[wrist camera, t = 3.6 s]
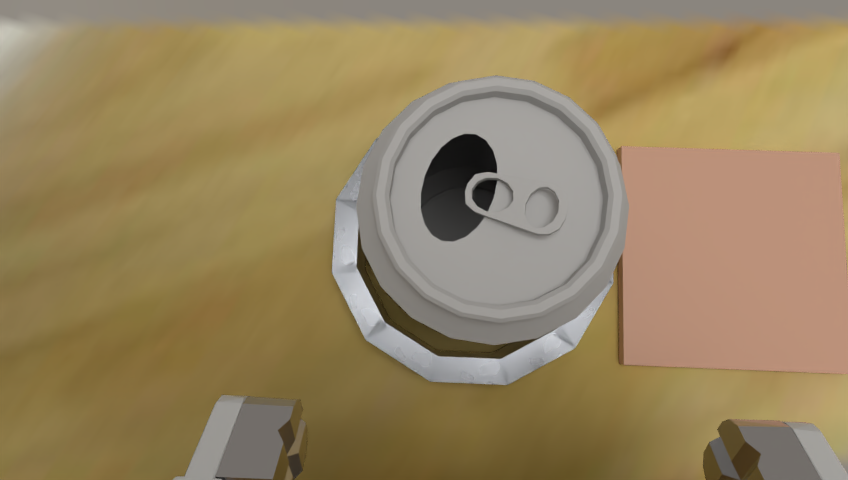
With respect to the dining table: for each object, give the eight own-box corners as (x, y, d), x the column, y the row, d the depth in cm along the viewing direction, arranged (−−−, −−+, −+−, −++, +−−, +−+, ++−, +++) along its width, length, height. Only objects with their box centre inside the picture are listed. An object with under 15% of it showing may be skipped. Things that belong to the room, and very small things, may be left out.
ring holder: (338, 368, 24) (325, 377, 21) (352, 127, 25) (341, 102, 22) (591, 378, 24) (614, 389, 21) (590, 134, 25) (612, 110, 22)
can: (416, 151, 25) (401, 11, 13) (566, 198, 25) (689, 96, 13) (366, 300, 24) (303, 292, 12) (521, 350, 24) (608, 393, 12)
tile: (618, 363, 24) (623, 364, 23) (617, 150, 25) (621, 146, 24) (843, 372, 23) (854, 374, 23) (829, 156, 25) (839, 152, 24)
